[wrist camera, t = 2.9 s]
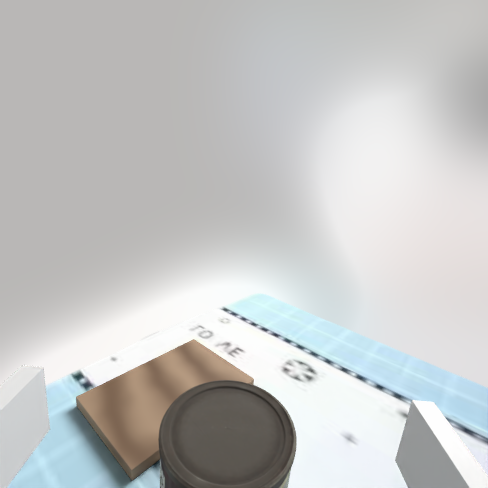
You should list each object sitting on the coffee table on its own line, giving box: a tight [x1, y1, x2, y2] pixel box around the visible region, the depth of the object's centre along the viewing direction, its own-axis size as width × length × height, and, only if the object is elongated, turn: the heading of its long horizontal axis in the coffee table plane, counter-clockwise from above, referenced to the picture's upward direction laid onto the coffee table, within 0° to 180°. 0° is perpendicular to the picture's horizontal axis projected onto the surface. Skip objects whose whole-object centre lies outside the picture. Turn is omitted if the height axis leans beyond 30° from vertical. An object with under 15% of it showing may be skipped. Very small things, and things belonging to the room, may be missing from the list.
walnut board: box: [76, 340, 254, 480], centre depth 44 cm, size 20×14×2 cm
